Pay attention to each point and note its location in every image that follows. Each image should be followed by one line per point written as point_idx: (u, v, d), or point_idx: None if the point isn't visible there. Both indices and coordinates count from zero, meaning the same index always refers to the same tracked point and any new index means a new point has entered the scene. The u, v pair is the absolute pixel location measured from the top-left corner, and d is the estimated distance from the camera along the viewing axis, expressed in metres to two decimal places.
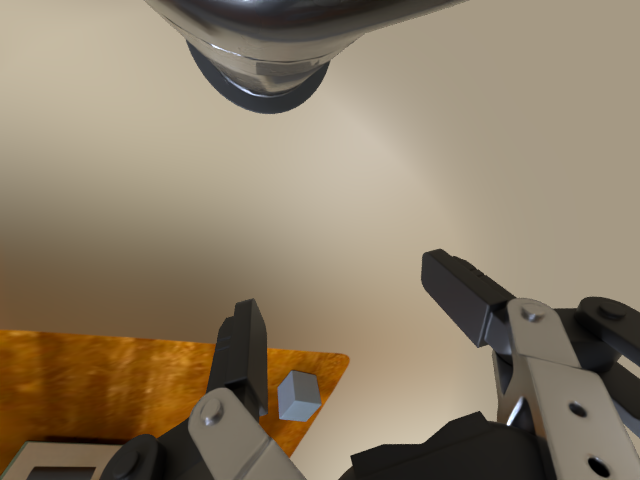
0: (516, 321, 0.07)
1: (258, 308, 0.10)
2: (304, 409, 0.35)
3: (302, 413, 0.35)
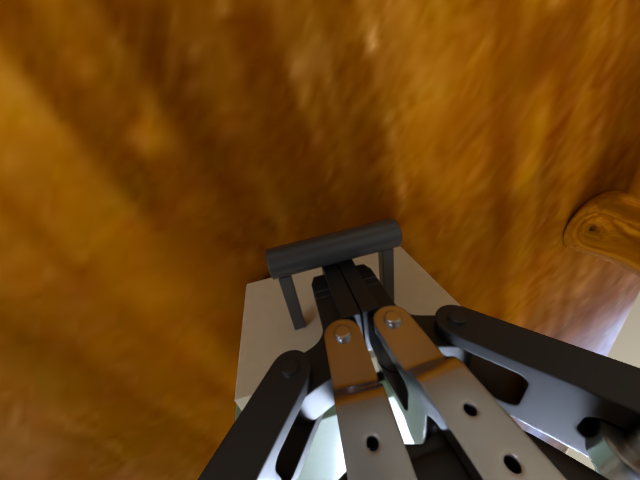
0: (387, 335, 0.07)
1: None
2: None
3: None
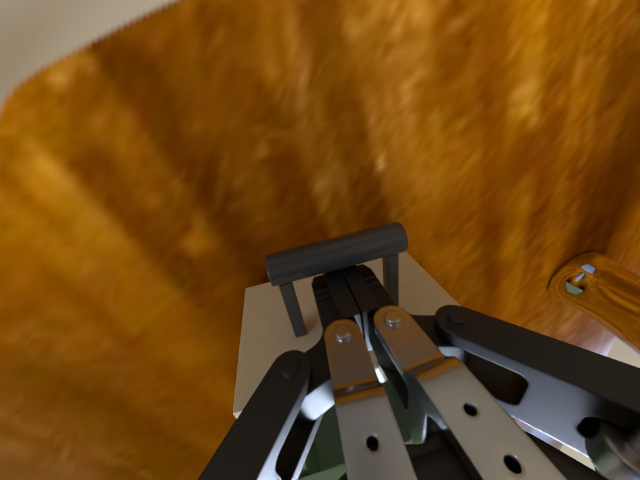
0: (387, 336, 0.07)
1: None
2: None
3: None
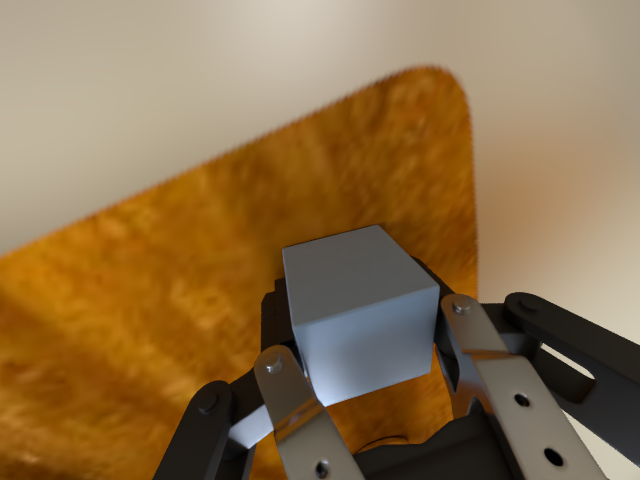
0: (451, 319, 0.07)
1: None
2: (380, 342, 0.08)
3: (389, 356, 0.08)
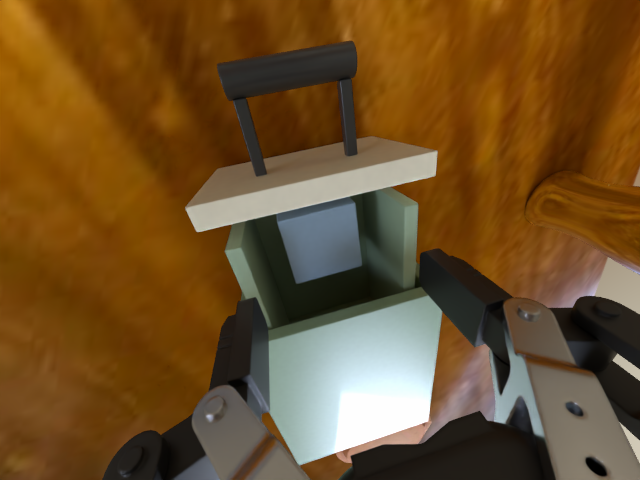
0: (512, 321, 0.07)
1: (260, 307, 0.11)
2: (326, 237, 0.14)
3: (334, 248, 0.15)
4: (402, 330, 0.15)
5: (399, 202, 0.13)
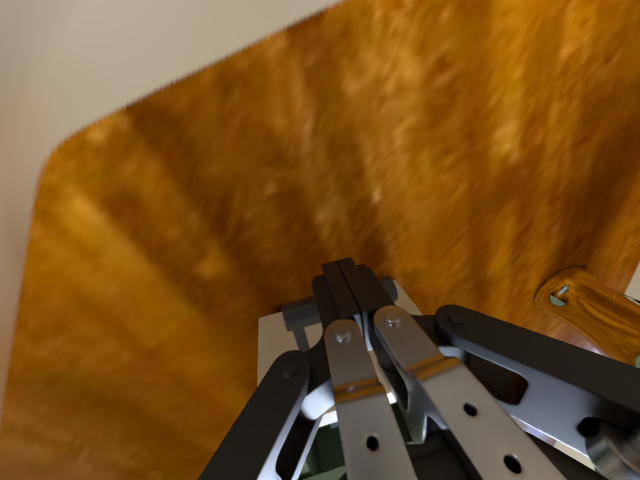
0: (387, 336, 0.07)
1: None
2: None
3: None
4: None
5: None
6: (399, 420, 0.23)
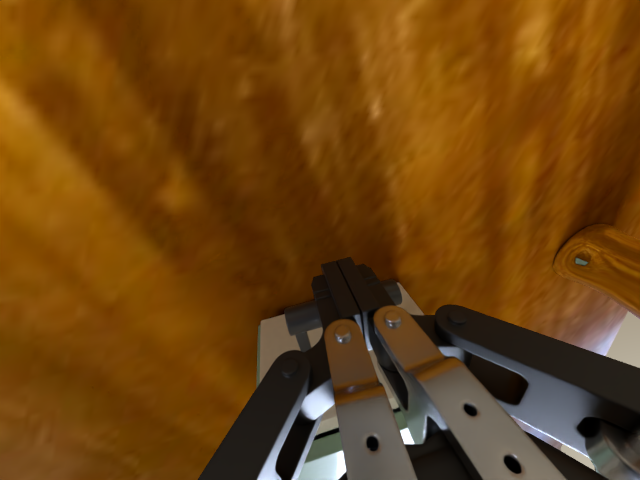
0: (387, 335, 0.07)
1: None
2: None
3: None
4: None
5: None
6: None
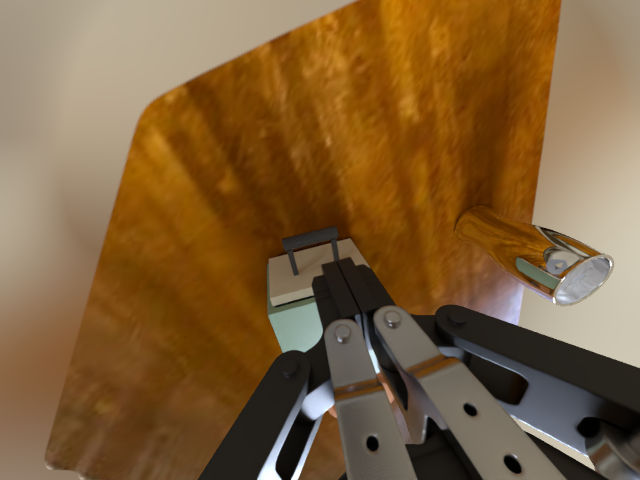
0: (387, 336, 0.07)
1: None
2: None
3: None
4: None
5: None
6: None
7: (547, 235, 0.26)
